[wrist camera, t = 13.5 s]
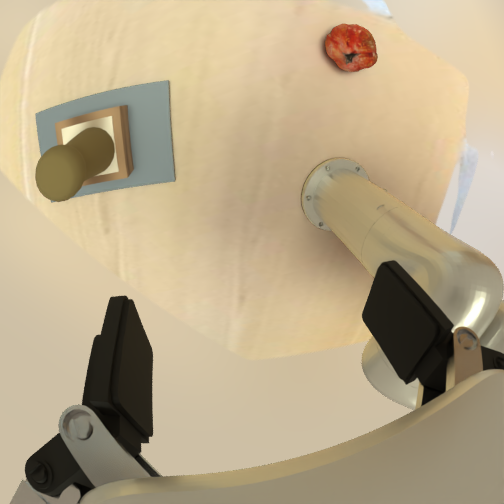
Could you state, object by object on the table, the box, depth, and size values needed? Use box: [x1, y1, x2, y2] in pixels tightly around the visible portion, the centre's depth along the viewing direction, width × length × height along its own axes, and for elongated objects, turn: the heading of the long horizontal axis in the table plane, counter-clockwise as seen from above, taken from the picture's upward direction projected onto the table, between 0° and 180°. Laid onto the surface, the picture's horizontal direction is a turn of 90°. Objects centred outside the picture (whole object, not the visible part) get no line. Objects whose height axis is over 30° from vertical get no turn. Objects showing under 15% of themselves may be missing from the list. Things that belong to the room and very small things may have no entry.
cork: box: [35, 127, 115, 202], centre depth 22 cm, size 6×6×11 cm
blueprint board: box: [36, 81, 175, 202], centre depth 30 cm, size 20×14×1 cm
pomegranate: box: [325, 24, 377, 72], centre depth 27 cm, size 7×7×10 cm
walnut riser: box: [55, 105, 134, 186], centre depth 28 cm, size 9×9×4 cm
